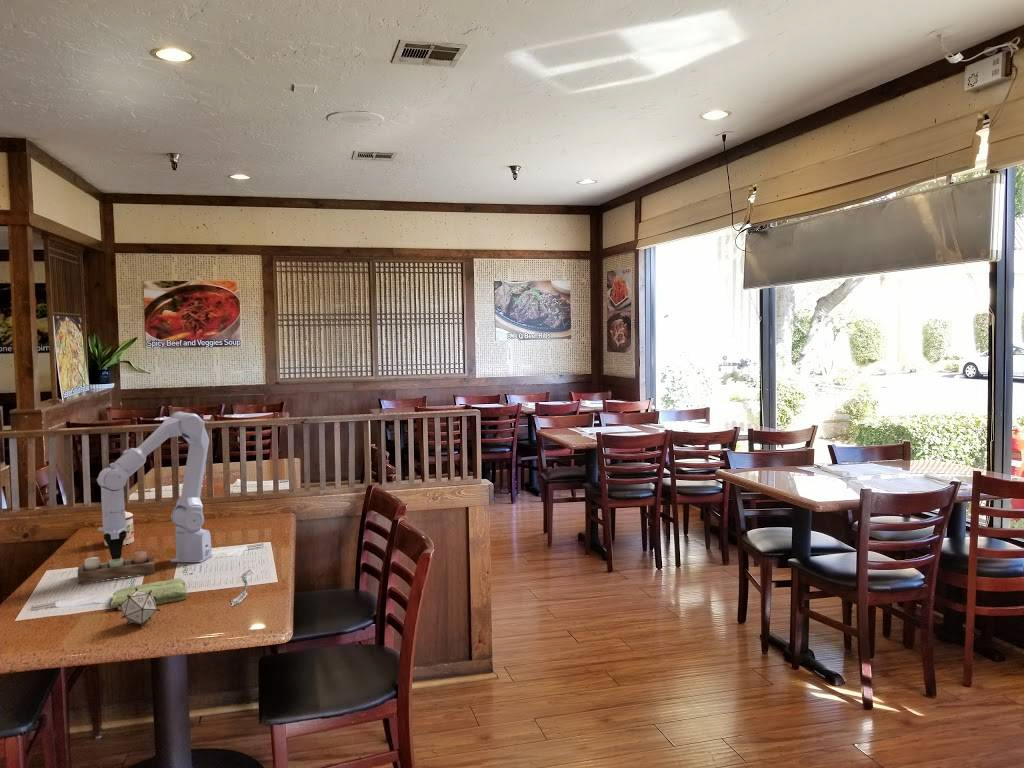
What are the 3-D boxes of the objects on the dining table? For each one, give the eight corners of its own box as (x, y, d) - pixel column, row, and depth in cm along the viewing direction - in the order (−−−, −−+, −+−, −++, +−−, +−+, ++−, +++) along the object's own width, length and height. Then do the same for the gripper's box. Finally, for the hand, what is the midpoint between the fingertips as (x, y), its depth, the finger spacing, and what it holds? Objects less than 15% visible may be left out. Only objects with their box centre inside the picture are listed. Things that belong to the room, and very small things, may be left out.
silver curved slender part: (227, 608, 195) (248, 606, 196) (227, 606, 195) (248, 604, 196) (237, 570, 226) (255, 569, 227) (237, 568, 226) (255, 567, 227)
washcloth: (111, 598, 205) (111, 585, 204) (185, 587, 212) (184, 575, 212) (110, 614, 193) (110, 601, 193) (188, 602, 201) (188, 589, 200)
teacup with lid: (130, 546, 252) (128, 510, 251) (99, 548, 250) (97, 511, 249) (140, 536, 264) (138, 501, 263) (110, 538, 262) (108, 503, 261)
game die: (135, 637, 186) (129, 597, 191) (169, 623, 187) (162, 584, 191) (114, 632, 178) (107, 590, 183) (149, 617, 179) (142, 576, 183)
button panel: (153, 566, 230) (152, 556, 230) (154, 573, 223) (154, 563, 223) (79, 576, 222) (78, 565, 221) (78, 584, 214) (77, 573, 214)
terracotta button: (146, 558, 227) (146, 550, 227) (147, 562, 224) (146, 553, 224) (132, 560, 226) (132, 552, 225) (133, 563, 222) (132, 555, 222)
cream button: (99, 565, 222) (99, 556, 222) (99, 568, 219) (99, 559, 218) (85, 567, 220) (84, 558, 220) (84, 570, 217) (84, 561, 217)
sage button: (123, 565, 225) (123, 557, 224) (123, 569, 221) (123, 560, 221) (109, 567, 223) (109, 559, 223) (109, 571, 220) (109, 562, 220)
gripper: (97, 507, 226) (100, 554, 227) (97, 518, 213) (100, 567, 214) (125, 504, 229) (127, 550, 230) (126, 514, 216) (128, 563, 217)
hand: (116, 558), depth 222 cm, fingers closed
